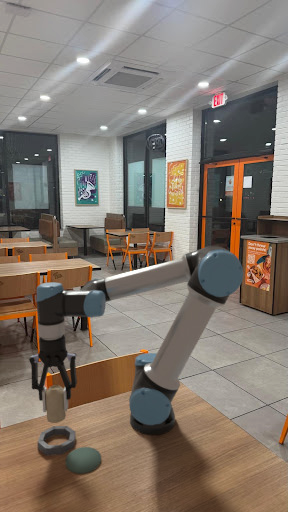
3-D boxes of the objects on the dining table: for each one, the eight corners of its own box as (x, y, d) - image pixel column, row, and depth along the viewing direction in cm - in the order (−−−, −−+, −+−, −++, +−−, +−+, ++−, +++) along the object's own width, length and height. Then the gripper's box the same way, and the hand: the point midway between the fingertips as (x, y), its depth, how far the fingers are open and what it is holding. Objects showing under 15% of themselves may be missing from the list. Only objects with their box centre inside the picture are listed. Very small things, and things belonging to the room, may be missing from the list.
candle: (60, 424, 105) (59, 392, 104) (43, 422, 106) (41, 390, 105) (68, 413, 110) (67, 383, 109) (52, 411, 111) (50, 381, 110)
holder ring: (77, 431, 115) (76, 425, 115) (71, 454, 104) (71, 447, 104) (43, 432, 114) (43, 426, 114) (35, 455, 104) (34, 448, 104)
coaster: (102, 448, 107) (102, 446, 107) (99, 473, 97) (99, 471, 97) (68, 449, 107) (68, 447, 107) (62, 474, 97) (62, 472, 97)
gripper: (85, 330, 109) (88, 401, 112) (23, 332, 108) (28, 403, 111) (82, 339, 101) (85, 415, 104) (16, 341, 100) (21, 417, 104)
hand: (55, 409), depth 108 cm, fingers closed on candle, 5 cm apart
